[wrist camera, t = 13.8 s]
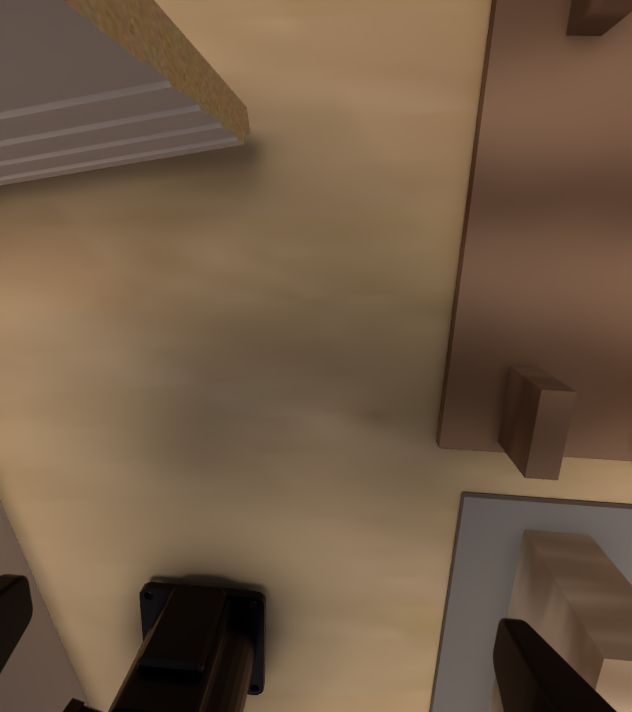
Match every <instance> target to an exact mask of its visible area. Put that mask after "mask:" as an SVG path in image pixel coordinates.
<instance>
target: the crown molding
mask: <svg viewBox="0 0 632 712" xmlns="http://www.w3.org/2000/svg"><path fill="white" fill-rule="evenodd" d="M3 574H16V575H24V576H26V577H27V578H28V580H29V585H30V592H31V598H32V604H33V614H32V618H31V621H30V623H29V625H28V627H27V628H26V630H25V632H24V634H23V635H22V637H21V639H20V641H19V642H18V644H17V646H16V648H15V649H14V651H13V653H12V654H11V656H10V658H9V660H8V661H7V663H6V665H5V667H4V668H3V670H2V672H1V674H0V712H63V710H64V709H65V708H66V706H67V705H68V703H69V702H70V700H71V699H72V698H75V699H78V700H81V701H83V702H85V704H84V705H86V706H88V707H89V705H88V703H87V700H86V698H85V696H84V693H83V691H82V689H81V686H80V684H79V682H78V679H77V677H76V675H75V673H74V670H73V668H72V666H71V663H70V661H69V659H68V656H67V654H66V652H65V649H64V647H63V645H62V643H61V640H60V638H59V636H58V633H57V631H56V629H55V626H54V624H53V622H52V619H51V617H50V615H49V613H48V610H47V608H46V606H45V603H44V601H43V599H42V596H41V594H40V592H39V589H38V587H37V585H36V583H35V580H34V578H33V576H32V573H31V571H30V569H29V566H28V564H27V562H26V559H25V557H24V555H23V553H22V550H21V548H20V546H19V543H18V541H17V539H16V536H15V534H14V532H13V529H12V527H11V525H10V522H9V520H8V518H7V516H6V513H5V511H4V509H3V506H2V504H1V502H0V576H1V575H3Z"/></svg>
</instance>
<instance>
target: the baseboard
mask: <svg viewBox="0 0 632 712" xmlns="http://www.w3.org/2000/svg"><path fill="white" fill-rule="evenodd" d="M246 134H250V127H249V121H248V114H247V108H246V106H245V105H244V104H243V102H242V101H241V100H240V99H239V98H238V97H237V95H236V94H235V93H234V92H233V91H232V90H231V89H230V87H229V86H228V85H227V84H226V83H225V82H224V80H223V79H222V78H221V77H220V76H219V75H218V73H217V72H216V71H215V70H214V69H213V68H212V67H211V65H210V64H209V63H208V62H207V61H206V60H205V58H204V57H203V56H202V55H201V54H200V53H199V52H198V50H197V49H196V48H195V47H194V46H193V45H192V43H191V42H190V41H189V40H188V39H187V38H186V36H185V35H184V34H183V33H182V32H181V31H180V30H179V28H178V27H177V26H176V25H175V24H174V23H173V21H172V20H171V19H170V18H169V17H168V16H167V15H166V13H165V12H164V11H163V10H162V9H161V8H160V6H159V5H158V4H157V3H156V2H155V1H154V0H0V186H1V185H7V184H13V183H19V182H25V181H31V180H37V179H43V178H49V177H55V176H61V175H67V174H72V173H78V172H84V171H90V170H96V169H102V168H108V167H114V166H120V165H126V164H132V163H138V162H144V161H150V160H156V159H162V158H168V157H174V156H180V155H186V154H192V153H198V152H204V151H210V150H216V149H222V148H228V147H234V146H239V145H244V138H245V135H246Z"/></svg>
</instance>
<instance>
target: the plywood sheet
mask: <svg viewBox="0 0 632 712" xmlns="http://www.w3.org/2000/svg"><path fill="white" fill-rule="evenodd" d="M507 618H512V619H521V620H524V621H525V622H527V623H528V624H529V625H530V626H531V627H532V628H533V629H534V630H535V631H536V632H537V633H538V634H539V635H540V636H541V637H542V638H543V639H544V640H545V641H546V642H547V643H548V644H549V645H550V646H551V647H552V648H553V649H554V650H555V651H556V652H557V653H558V654H559V655H560V656H561V657H562V658H563V659H564V660H565V661H566V662H567V663H568V664H569V665H570V666H571V667H572V668H573V669H574V670H575V671H576V672H578V673H579V674H580V675H581V676H582V677H583V678H584V679H585V680H586V681H587V682H588V683H589V684H590V685H591V686H592V687H593V688H594V689H595V690H596V691H597V692H598V693H599V694H600V695H601V696H602V697H603V698H604V699H605V700H606V701H607V702H608V703H609V704H610V705H611V706H612V707H613V708H614V709H615V710H616V711H617V712H632V585H631V584H630V583H629V581H628V580H627V579H626V578H625V577H624V575H623V574H622V573H621V572H620V570H619V569H618V568H617V567H616V566H615V564H614V563H613V562H612V561H611V560H610V558H609V557H608V556H607V555H606V554H605V552H604V551H603V550H602V549H601V548H600V546H599V545H598V544H597V543H596V542H595V540H594V539H593V538H592V537H591V535H587V534H575V533H562V532H549V531H537V530H524V534H523V539H522V544H521V549H520V554H519V559H518V564H517V569H516V574H515V579H514V584H513V589H512V594H511V599H510V604H509V609H508V614H507ZM488 712H504V711H503V706H502V702H501V697H500V693H499V688H498V684H497V680H496V675H495V679H494V684H493V689H492V694H491V699H490V704H489V709H488Z"/></svg>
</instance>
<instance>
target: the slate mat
mask: <svg viewBox="0 0 632 712" xmlns="http://www.w3.org/2000/svg"><path fill="white" fill-rule="evenodd" d="M524 530H537V531H549V532H562V533H575V534H587V535H591V537H592V538H593V539H594V540H595V542H596V543H597V544H598V545H599V546H600V548H601V549H602V550H603V551H604V552H605V554H606V555H607V556H608V557H609V558H610V560H611V561H612V562H613V563H614V564H615V566H616V567H617V568H618V569H619V570H620V572H621V573H622V574H623V575H624V577H625V578H626V579H627V580H628V581H629V583H630V584H631V585H632V504H618V503H604V502H591V501H577V500H564V499H550V498H536V497H523V496H509V495H495V494H482V493H468V492H462V497H461V504H460V511H459V517H458V524H457V531H456V537H455V544H454V551H453V558H452V564H451V571H450V578H449V584H448V591H447V598H446V605H445V611H444V618H443V625H442V632H441V638H440V645H439V652H438V658H437V665H436V672H435V679H434V685H433V692H432V699H431V705H430V712H488V709H489V704H490V699H491V694H492V689H493V684H494V679H495V671H494V666H493V649H494V643H495V638H496V633H497V628H498V623H499V621H500V619H502V618H507V614H508V609H509V604H510V599H511V594H512V589H513V584H514V579H515V574H516V569H517V564H518V559H519V554H520V549H521V544H522V539H523V534H524Z"/></svg>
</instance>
